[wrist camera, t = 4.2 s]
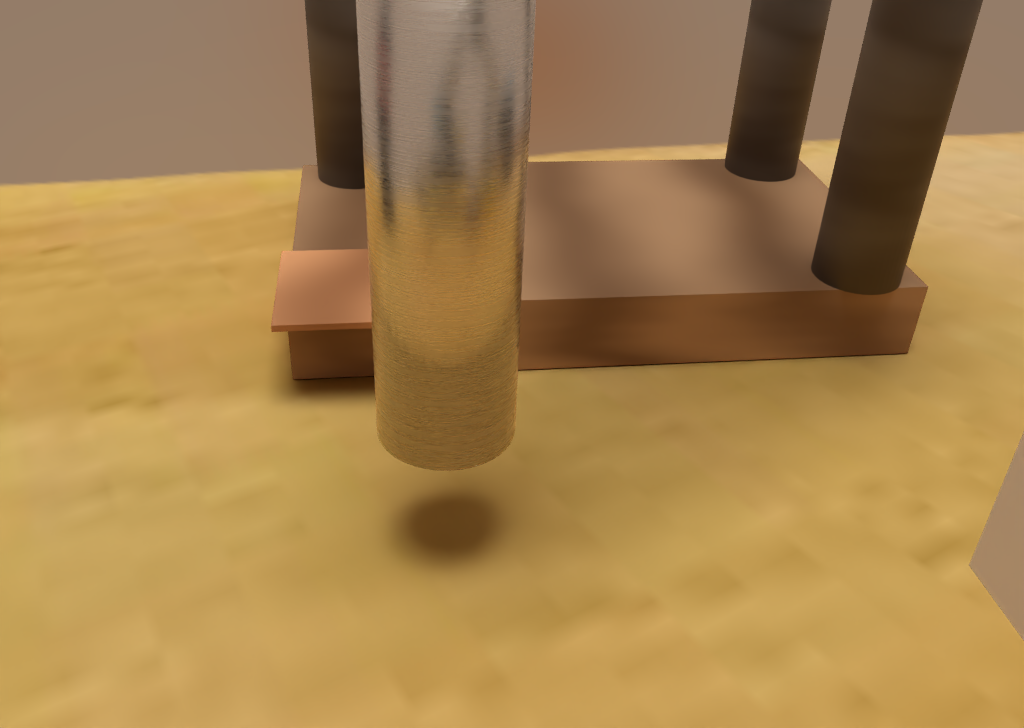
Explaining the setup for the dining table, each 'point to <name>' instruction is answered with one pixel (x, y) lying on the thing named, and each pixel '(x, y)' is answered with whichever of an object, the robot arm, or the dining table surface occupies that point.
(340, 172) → the wooden base with rods
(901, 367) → the dining table surface
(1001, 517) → the robot arm
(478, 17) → the hinged leg
